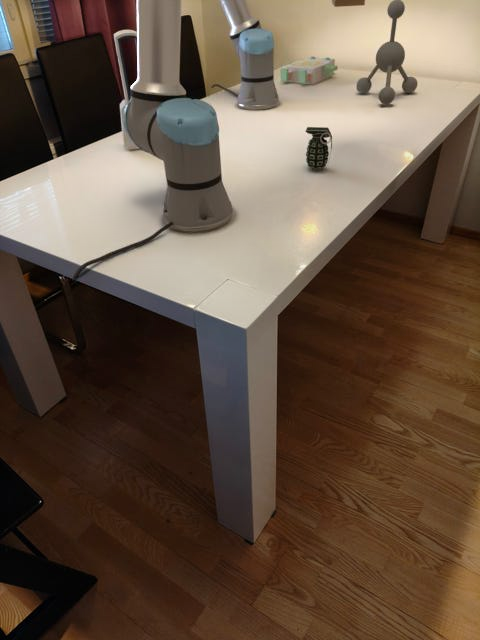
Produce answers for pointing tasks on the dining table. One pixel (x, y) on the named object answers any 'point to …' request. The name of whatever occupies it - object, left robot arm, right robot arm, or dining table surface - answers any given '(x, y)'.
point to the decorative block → (308, 70)
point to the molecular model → (390, 60)
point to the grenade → (318, 147)
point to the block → (348, 3)
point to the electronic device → (124, 80)
